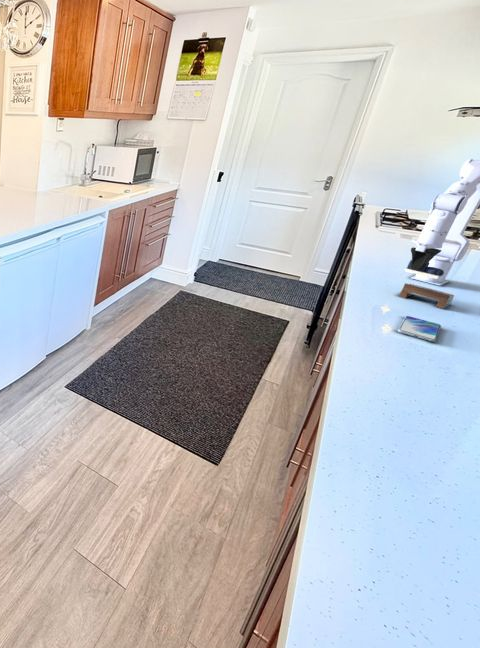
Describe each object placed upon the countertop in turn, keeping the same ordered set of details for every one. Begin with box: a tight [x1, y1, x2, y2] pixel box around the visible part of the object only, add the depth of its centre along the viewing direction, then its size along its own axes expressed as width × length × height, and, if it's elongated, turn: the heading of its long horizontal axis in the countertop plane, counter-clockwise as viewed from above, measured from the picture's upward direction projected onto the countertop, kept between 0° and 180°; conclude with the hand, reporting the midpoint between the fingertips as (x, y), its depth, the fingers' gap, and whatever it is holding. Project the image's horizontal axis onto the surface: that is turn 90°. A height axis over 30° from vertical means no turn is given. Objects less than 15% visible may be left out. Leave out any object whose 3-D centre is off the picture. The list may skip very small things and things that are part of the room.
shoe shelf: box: [398, 283, 456, 310], centre depth 133 cm, size 7×10×5 cm
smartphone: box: [397, 315, 442, 343], centre depth 113 cm, size 7×1×15 cm
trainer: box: [404, 259, 444, 279], centre depth 136 cm, size 8×4×4 cm, turn 29°
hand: (416, 268), depth 138 cm, fingers closed on trainer, 3 cm apart
